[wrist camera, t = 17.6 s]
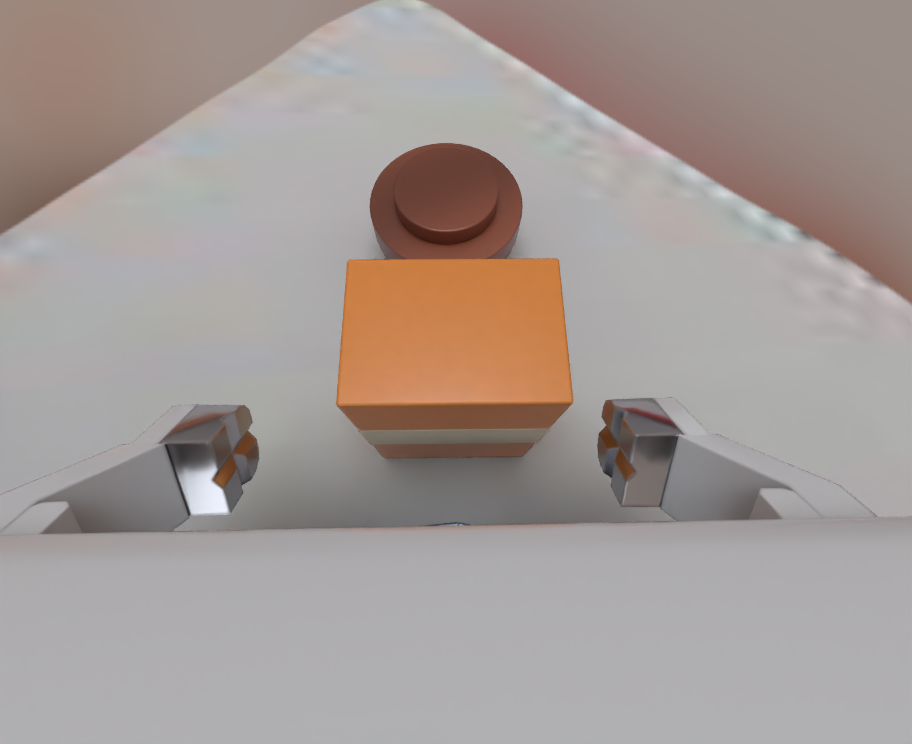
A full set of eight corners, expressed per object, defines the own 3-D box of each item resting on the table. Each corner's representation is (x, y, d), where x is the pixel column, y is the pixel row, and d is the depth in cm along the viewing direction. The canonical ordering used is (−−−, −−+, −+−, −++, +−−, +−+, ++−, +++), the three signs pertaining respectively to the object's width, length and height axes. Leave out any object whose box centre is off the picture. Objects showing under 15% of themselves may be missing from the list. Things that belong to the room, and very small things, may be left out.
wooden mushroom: (537, 261, 21) (559, 193, 17) (440, 338, 20) (438, 286, 16) (452, 183, 23) (452, 103, 18) (357, 250, 21) (333, 180, 17)
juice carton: (518, 363, 20) (560, 256, 12) (523, 457, 18) (575, 404, 11) (386, 364, 19) (345, 257, 12) (383, 459, 18) (334, 406, 11)
